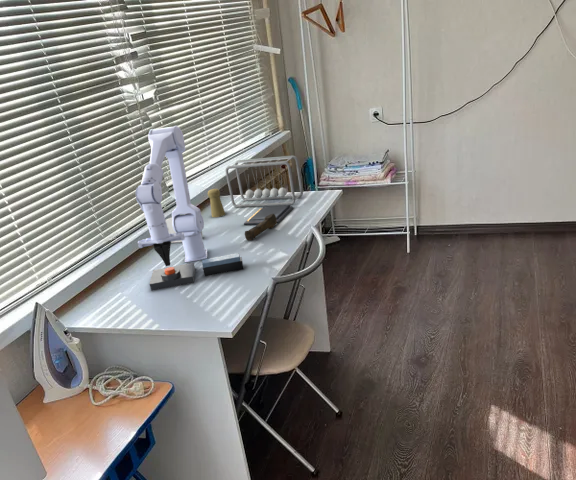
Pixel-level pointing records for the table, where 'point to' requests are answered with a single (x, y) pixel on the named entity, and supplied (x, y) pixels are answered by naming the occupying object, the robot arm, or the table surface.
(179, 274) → the control box
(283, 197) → the newton's cradle
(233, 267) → the black and grey bar
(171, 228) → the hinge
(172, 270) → the button
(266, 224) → the hand tool
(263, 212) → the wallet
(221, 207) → the cork
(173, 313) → the table surface
